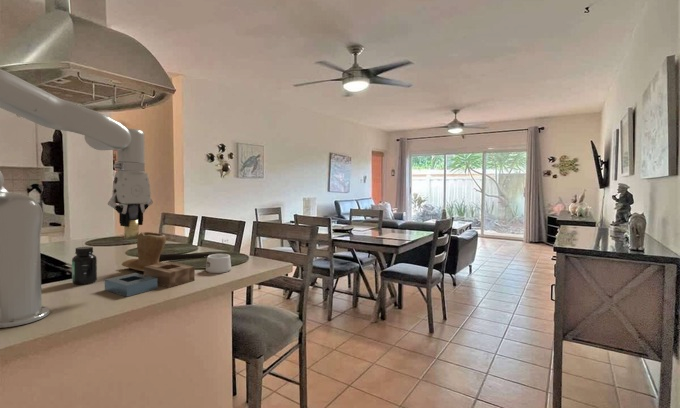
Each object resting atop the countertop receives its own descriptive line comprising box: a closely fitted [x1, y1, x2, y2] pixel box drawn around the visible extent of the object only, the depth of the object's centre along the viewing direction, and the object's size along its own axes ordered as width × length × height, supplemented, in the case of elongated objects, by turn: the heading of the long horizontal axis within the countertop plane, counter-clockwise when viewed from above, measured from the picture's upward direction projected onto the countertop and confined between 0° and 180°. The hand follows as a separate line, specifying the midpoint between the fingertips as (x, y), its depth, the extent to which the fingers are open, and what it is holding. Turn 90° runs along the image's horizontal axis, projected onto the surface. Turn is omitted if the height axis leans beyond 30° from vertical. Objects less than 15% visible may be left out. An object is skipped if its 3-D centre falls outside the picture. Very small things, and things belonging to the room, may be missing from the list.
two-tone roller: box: [123, 204, 140, 240], centre depth 113 cm, size 4×4×12 cm
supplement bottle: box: [71, 246, 98, 286], centre depth 120 cm, size 7×7×12 cm
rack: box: [143, 261, 196, 288], centre depth 126 cm, size 10×14×5 cm
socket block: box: [104, 272, 158, 298], centre depth 115 cm, size 10×12×4 cm
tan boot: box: [121, 231, 167, 272], centre depth 139 cm, size 15×12×15 cm
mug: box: [205, 253, 232, 274], centre depth 142 cm, size 12×10×6 cm
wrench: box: [159, 252, 217, 263], centre depth 155 cm, size 5×5×30 cm
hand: (131, 224), depth 114 cm, fingers closed on two-tone roller, 4 cm apart
